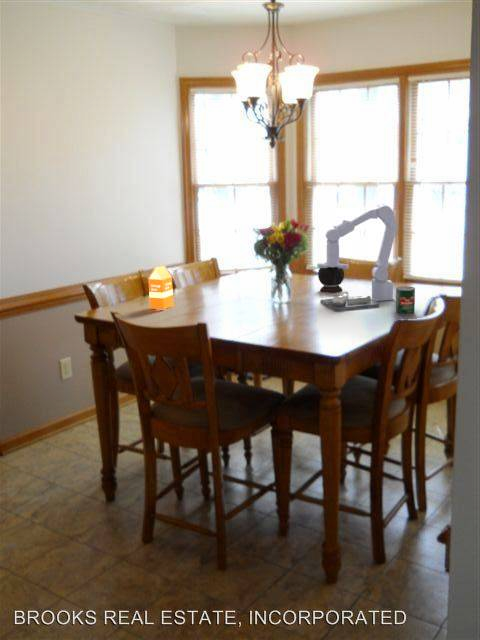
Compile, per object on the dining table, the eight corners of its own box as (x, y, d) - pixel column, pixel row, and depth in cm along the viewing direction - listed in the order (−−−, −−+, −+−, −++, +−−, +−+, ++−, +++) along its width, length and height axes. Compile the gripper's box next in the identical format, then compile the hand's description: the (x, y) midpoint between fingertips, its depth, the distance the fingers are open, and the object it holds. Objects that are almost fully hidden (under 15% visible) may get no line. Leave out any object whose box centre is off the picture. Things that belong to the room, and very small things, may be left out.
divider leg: (343, 302, 314) (343, 296, 313) (339, 302, 315) (339, 296, 314) (348, 298, 324) (348, 291, 323) (345, 297, 324) (345, 291, 324)
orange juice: (174, 306, 328) (171, 265, 323) (164, 310, 320) (161, 268, 315) (159, 305, 331) (157, 264, 326) (150, 309, 323) (147, 267, 319)
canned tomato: (404, 316, 292) (404, 290, 289) (391, 312, 299) (392, 287, 296) (418, 313, 295) (419, 288, 293) (406, 310, 302) (406, 285, 300)
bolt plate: (362, 299, 328) (362, 287, 327) (379, 307, 310) (379, 295, 309) (320, 302, 324) (320, 291, 322) (335, 311, 306) (335, 299, 304)
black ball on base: (348, 289, 352) (348, 260, 349) (337, 294, 342) (337, 264, 338) (325, 287, 359) (324, 259, 356) (313, 292, 349) (313, 262, 345)
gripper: (315, 255, 321) (315, 284, 324) (346, 256, 315) (346, 285, 318) (319, 253, 327) (319, 281, 330) (349, 254, 322) (349, 282, 325)
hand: (333, 283), depth 325 cm, fingers closed
